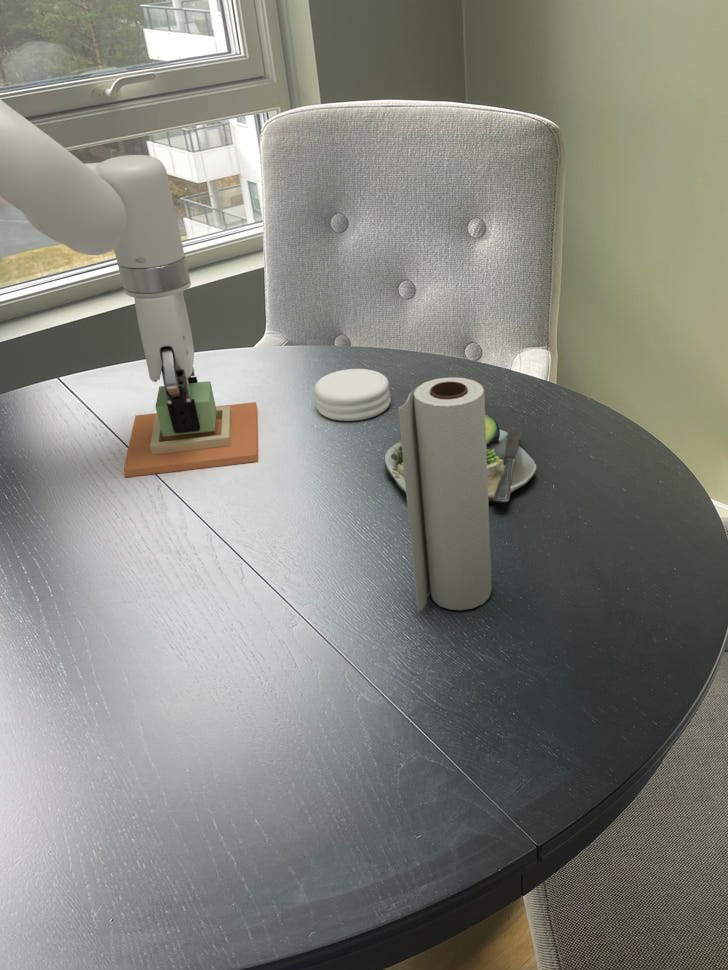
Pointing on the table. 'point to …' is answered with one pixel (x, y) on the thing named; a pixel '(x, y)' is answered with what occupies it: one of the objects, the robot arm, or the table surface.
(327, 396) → the coaster
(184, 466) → the base mat
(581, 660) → the table surface
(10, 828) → the table surface
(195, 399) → the green block
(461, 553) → the paper towel roll
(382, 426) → the table surface
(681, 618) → the table surface
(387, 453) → the salad plate
